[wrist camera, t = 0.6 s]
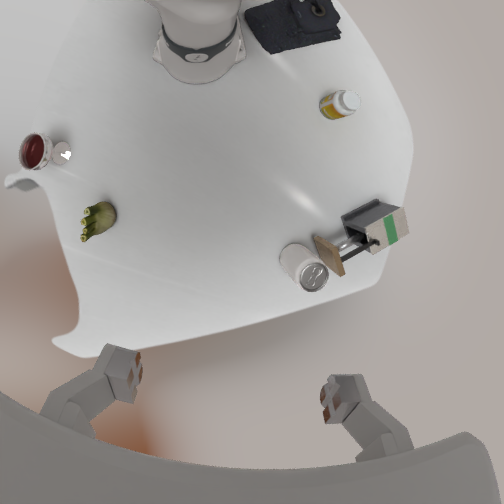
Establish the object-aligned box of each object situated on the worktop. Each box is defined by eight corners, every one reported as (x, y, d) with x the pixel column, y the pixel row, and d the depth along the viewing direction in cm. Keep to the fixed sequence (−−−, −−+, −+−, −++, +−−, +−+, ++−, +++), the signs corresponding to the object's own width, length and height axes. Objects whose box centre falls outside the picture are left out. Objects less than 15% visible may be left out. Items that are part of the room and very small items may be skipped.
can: (312, 249, 60) (336, 267, 48) (299, 275, 61) (320, 298, 50) (286, 238, 58) (307, 255, 46) (274, 265, 59) (291, 288, 48)
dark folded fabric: (234, 9, 41) (237, -1, 37) (315, -7, 42) (322, -16, 37) (266, 59, 46) (272, 51, 42) (346, 39, 47) (355, 32, 42)
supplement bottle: (318, 95, 50) (339, 84, 41) (340, 99, 51) (363, 89, 42) (319, 118, 52) (340, 110, 42) (341, 121, 52) (365, 115, 43)
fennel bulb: (106, 196, 48) (83, 204, 37) (124, 211, 50) (104, 223, 39) (91, 218, 49) (66, 231, 38) (108, 233, 51) (86, 249, 39)
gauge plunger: (322, 262, 58) (343, 279, 49) (313, 238, 56) (334, 251, 47) (357, 243, 58) (382, 256, 49) (350, 218, 56) (376, 228, 47)
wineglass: (79, 149, 44) (51, 146, 33) (61, 175, 45) (31, 178, 34) (61, 131, 42) (32, 124, 31) (44, 156, 43) (13, 156, 31)
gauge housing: (349, 243, 61) (373, 257, 51) (340, 216, 59) (365, 226, 49) (383, 225, 61) (409, 235, 52) (376, 198, 59) (403, 205, 49)
